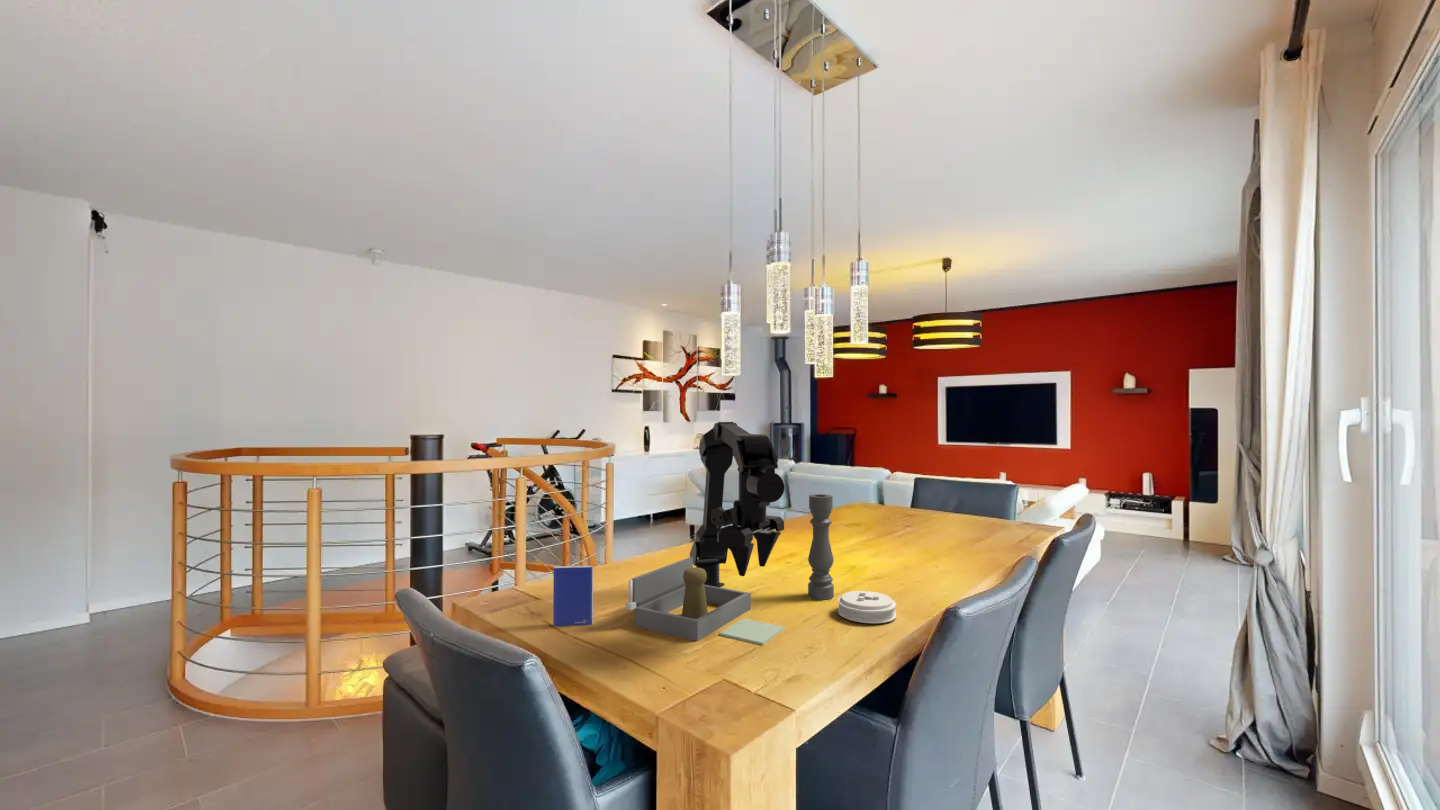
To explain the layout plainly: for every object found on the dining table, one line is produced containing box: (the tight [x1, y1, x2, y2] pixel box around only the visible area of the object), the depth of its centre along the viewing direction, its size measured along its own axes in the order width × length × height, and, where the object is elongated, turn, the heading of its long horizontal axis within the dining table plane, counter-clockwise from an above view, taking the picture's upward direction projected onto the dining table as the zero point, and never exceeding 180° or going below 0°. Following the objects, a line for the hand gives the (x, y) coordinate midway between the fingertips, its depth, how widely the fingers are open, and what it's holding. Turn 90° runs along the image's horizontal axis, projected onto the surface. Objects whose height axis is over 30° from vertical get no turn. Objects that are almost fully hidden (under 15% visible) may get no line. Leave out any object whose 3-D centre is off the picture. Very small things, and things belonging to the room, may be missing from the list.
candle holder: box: [807, 493, 835, 602], centre depth 148 cm, size 6×6×25 cm
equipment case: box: [624, 556, 752, 642], centre depth 133 cm, size 24×17×10 cm
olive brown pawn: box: [681, 566, 709, 619], centre depth 133 cm, size 6×6×11 cm
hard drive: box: [552, 565, 594, 627], centre depth 129 cm, size 2×8×12 cm, turn 95°
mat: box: [718, 618, 786, 646], centre depth 125 cm, size 10×10×1 cm
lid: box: [837, 590, 897, 624], centre depth 135 cm, size 13×13×5 cm
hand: (752, 570), depth 125 cm, fingers open, 8 cm apart
